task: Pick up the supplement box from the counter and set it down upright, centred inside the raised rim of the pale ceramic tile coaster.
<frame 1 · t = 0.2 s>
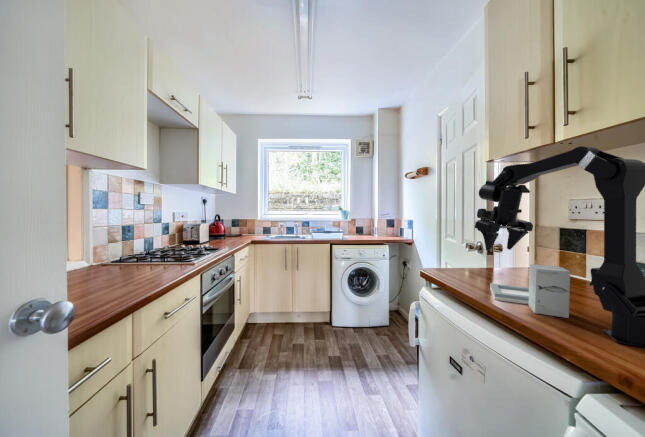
hand: (498, 249, 89), 15 cm above the worktop, tool pointing down, fingers open, 9 cm apart
supplement box: (547, 312, 73), on the worktop
tile coaster: (517, 296, 86), on the worktop
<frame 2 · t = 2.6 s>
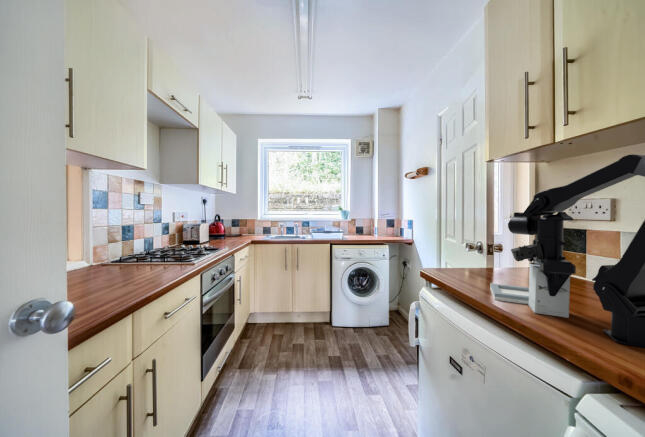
hand: (547, 292, 73), 6 cm above the worktop, tool pointing down, fingers closed on supplement box, 7 cm apart
supplement box: (547, 312, 73), on the worktop, touching gripper
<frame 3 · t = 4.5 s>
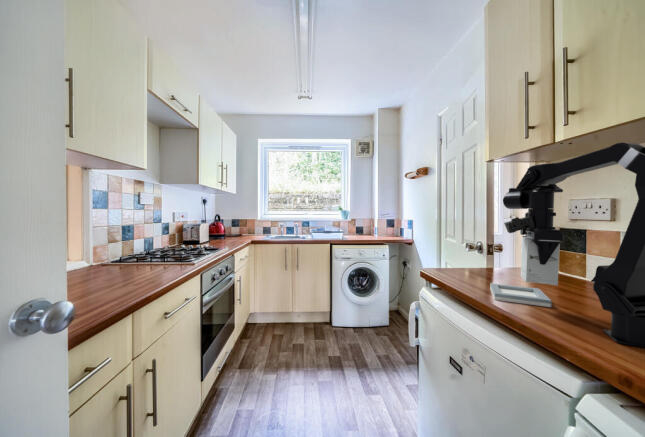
hand: (538, 262, 76), 13 cm above the worktop, tool pointing down, fingers closed on supplement box, 7 cm apart
supplement box: (538, 281, 77), point 7 cm above the worktop, touching gripper
when the fingers open (8 cm above the worktop, at t = 6.8 s): supplement box drops 1 cm, resting on tile coaster.
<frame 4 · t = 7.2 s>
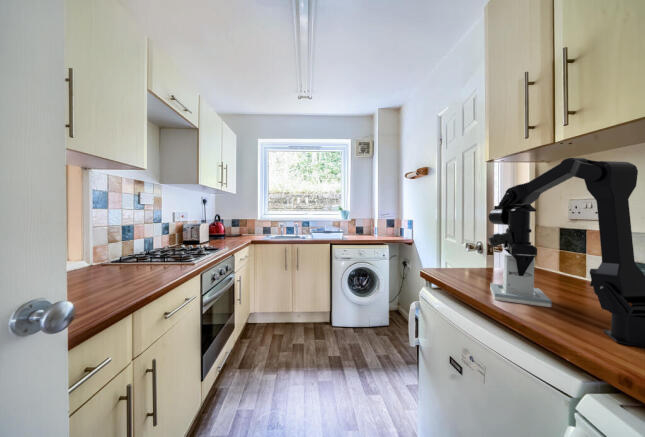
hand: (517, 272, 86), 8 cm above the worktop, tool pointing down, fingers open, 9 cm apart
supplement box: (517, 294, 86), point 1 cm above the worktop, touching tile coaster
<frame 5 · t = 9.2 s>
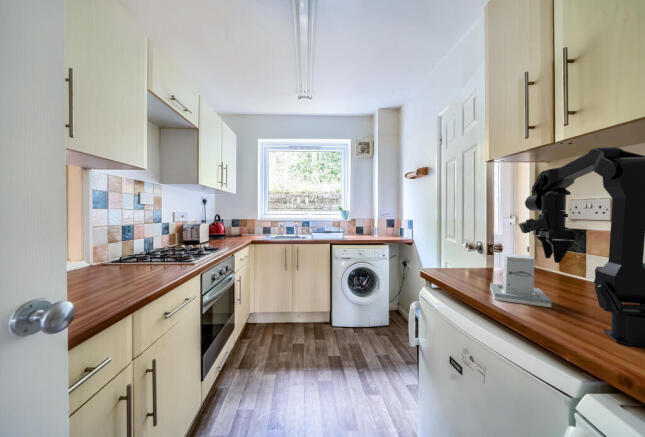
hand: (552, 260, 82), 13 cm above the worktop, tool pointing down, fingers open, 9 cm apart
nothing on the worktop moved.
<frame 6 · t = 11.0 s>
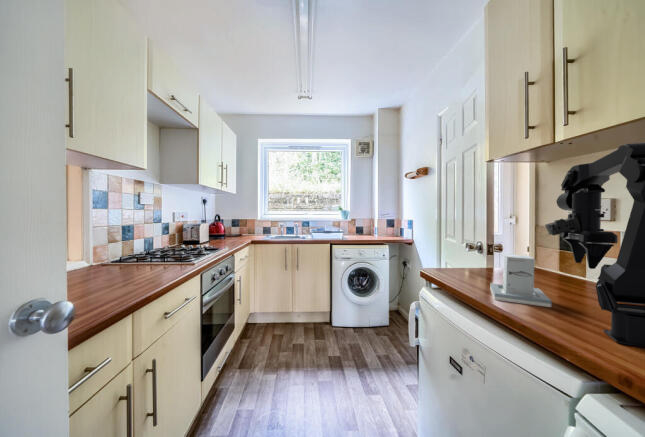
hand: (584, 265, 73), 13 cm above the worktop, tool pointing down, fingers open, 9 cm apart
nothing on the worktop moved.
at the end: supplement box 0.0 cm off-centre on the tile coaster, point 0.8 cm above the tile coaster's base; supplement box tilted 0°; the gripper is holding nothing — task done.
